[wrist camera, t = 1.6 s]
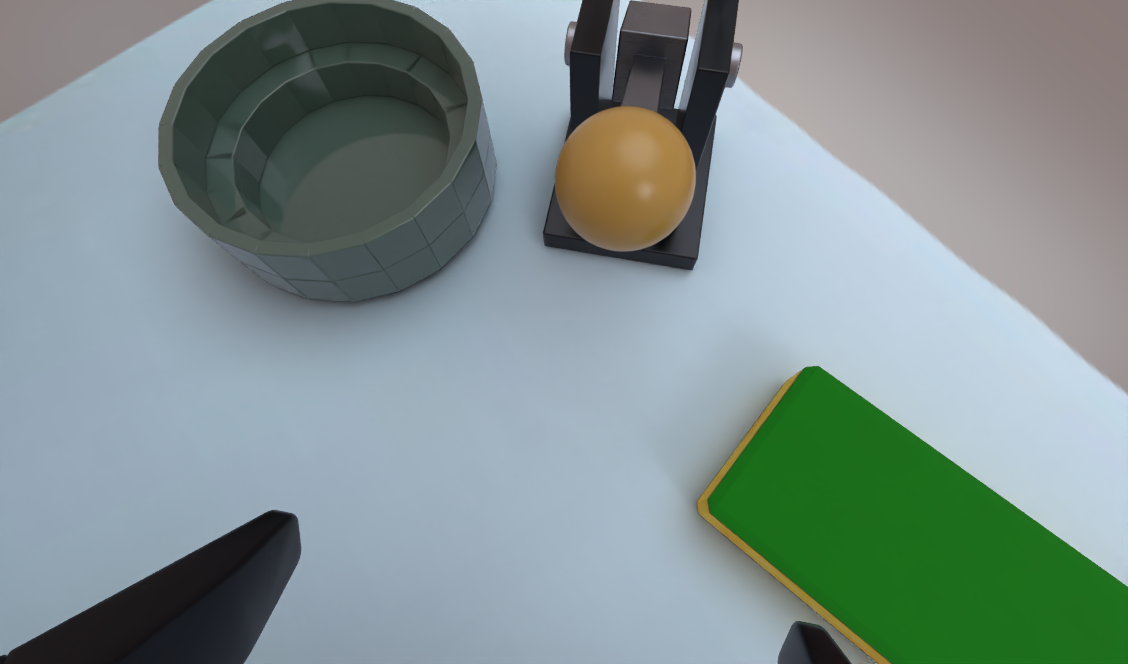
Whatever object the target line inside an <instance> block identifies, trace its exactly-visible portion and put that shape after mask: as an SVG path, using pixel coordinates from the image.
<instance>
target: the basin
mask: <svg viewBox="0 0 1128 664" xmlns="http://www.w3.org/2000/svg"><path fill="white" fill-rule="evenodd" d="M158 166H159V170H160V172H161V175H162V177H163V179H164V181H165V184H166V186H167V188H168V191H169V193H170V195H171V198H172V200H173V202H174V204H175V206H176V207H177V208H178V209H179V210H180V211H181V212H182V213H183V214H184V215H186V216H187V217H188V218H189V219H190V220H191V221H192V222H193V223H194V224H195V225H196V226H198V227H199V228H200V229H201V230H202V231H203V232H204V233H205V234H206V235H207V236H209V237H210V238H211V239H212V240H214V241H215V242H216V243H217V244H219V245H220V246H221V247H223V248H224V249H225V250H226V251H228V252H229V253H230V254H231V255H233V256H234V257H235V258H237V259H238V260H239V261H240V262H242V263H243V264H244V265H245V266H247V267H248V268H249V269H250V270H252V271H253V272H254V273H256V274H257V275H258V276H259V277H261V278H262V279H263V280H264V281H266V282H267V283H269V284H271V285H274V286H276V287H279V288H281V289H284V290H286V291H289V292H291V293H294V294H296V295H299V296H301V297H304V298H309V299H319V300H335V301H359V300H364V299H368V298H372V297H377V296H381V295H385V294H390V293H394V292H398V291H402V290H403V289H405V288H407V287H409V286H411V285H412V284H414V283H416V282H418V281H420V280H422V279H423V278H425V277H427V276H429V275H431V274H433V273H434V272H436V271H438V270H440V269H441V268H442V267H443V266H444V265H445V264H446V263H447V262H448V261H449V260H450V259H451V258H452V257H453V256H454V255H455V254H456V253H457V252H458V251H459V250H460V249H461V248H462V247H463V246H464V245H465V244H466V243H467V242H468V241H469V240H470V239H471V238H472V237H473V236H474V234H475V232H476V230H477V228H478V226H479V224H480V222H481V220H482V218H483V216H484V215H485V213H486V211H487V209H488V207H489V205H490V203H491V201H492V195H493V188H494V180H495V173H496V166H497V164H496V158H495V154H494V149H493V145H492V140H491V136H490V131H489V126H488V122H487V117H486V113H485V108H484V104H483V99H482V95H481V91H480V87H479V83H478V79H477V75H476V71H475V66H474V62H473V61H472V59H471V58H470V56H469V55H468V54H467V52H466V51H465V49H464V48H463V47H462V45H461V44H460V43H459V41H458V40H457V38H456V37H455V36H454V34H453V33H452V32H451V30H449V28H447V27H446V26H444V25H443V24H441V23H440V22H438V21H437V20H435V19H434V18H432V17H431V16H429V15H428V14H426V13H425V12H423V11H422V10H420V9H419V8H417V7H415V6H411V5H408V4H405V3H401V2H398V1H395V0H292V1H286V2H284V3H281V4H278V5H276V6H274V7H272V8H269V9H267V10H265V11H263V12H260V13H258V14H256V15H254V16H251V17H249V18H247V19H244V20H242V21H241V22H239V23H237V24H236V25H235V26H233V27H232V28H231V29H229V30H228V31H227V32H225V33H224V34H223V35H221V36H220V37H219V38H217V39H216V40H215V41H213V42H212V43H211V44H209V45H208V46H207V47H205V48H204V49H203V50H202V51H201V52H200V53H199V54H198V56H197V57H196V58H195V59H194V61H193V62H192V63H191V64H190V66H189V67H188V68H187V69H186V71H185V72H184V73H183V74H182V76H181V77H180V78H179V80H178V81H177V82H176V83H175V86H174V87H173V90H172V92H171V95H170V97H169V100H168V103H167V105H166V108H165V110H164V113H163V115H162V118H161V121H160V123H159V156H158Z"/></svg>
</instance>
